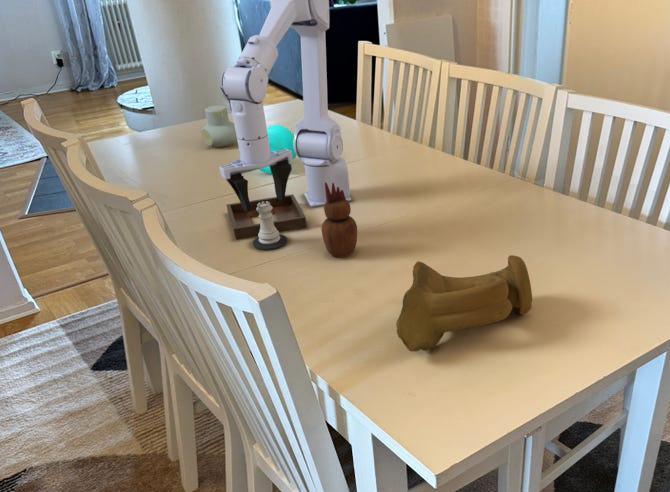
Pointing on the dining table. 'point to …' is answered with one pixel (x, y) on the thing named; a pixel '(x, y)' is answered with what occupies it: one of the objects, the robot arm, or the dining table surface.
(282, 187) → the robot arm
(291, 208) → the tray
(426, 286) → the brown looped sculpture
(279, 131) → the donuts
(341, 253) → the wooden figurine
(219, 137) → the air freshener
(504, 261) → the dining table surface
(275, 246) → the coaster
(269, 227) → the rook chess piece
